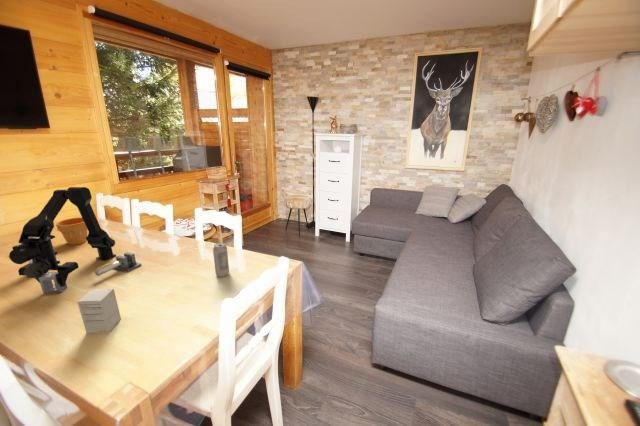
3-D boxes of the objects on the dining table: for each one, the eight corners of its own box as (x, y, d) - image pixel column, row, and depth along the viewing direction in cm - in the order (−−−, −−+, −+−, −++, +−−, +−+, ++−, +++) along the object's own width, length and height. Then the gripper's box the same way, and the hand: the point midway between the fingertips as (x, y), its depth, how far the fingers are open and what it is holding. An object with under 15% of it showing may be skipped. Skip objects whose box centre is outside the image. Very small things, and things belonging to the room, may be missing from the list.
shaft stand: (91, 278, 128) (88, 265, 126) (127, 262, 143) (124, 250, 142) (106, 282, 125) (103, 269, 123) (141, 265, 140) (139, 254, 138)
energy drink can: (225, 270, 137) (222, 241, 132) (231, 274, 133) (229, 245, 128) (213, 274, 133) (210, 244, 128) (219, 279, 129) (216, 248, 124)
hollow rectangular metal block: (43, 293, 116) (38, 277, 114) (51, 288, 120) (46, 272, 118) (60, 293, 117) (55, 276, 114) (67, 287, 120) (63, 271, 118)
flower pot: (97, 240, 169) (92, 220, 165) (67, 248, 158) (61, 227, 154) (87, 235, 176) (82, 216, 173) (57, 243, 165) (51, 222, 161)
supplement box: (99, 319, 101) (92, 288, 97) (121, 318, 102) (114, 287, 98) (85, 334, 94) (76, 301, 90) (108, 333, 95) (100, 300, 91)
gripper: (-2, 262, 105) (11, 299, 109) (53, 260, 106) (63, 296, 111) (25, 249, 115) (36, 283, 120) (75, 248, 117) (83, 282, 121)
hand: (54, 286), depth 118 cm, fingers closed on hollow rectangular metal block, 6 cm apart
